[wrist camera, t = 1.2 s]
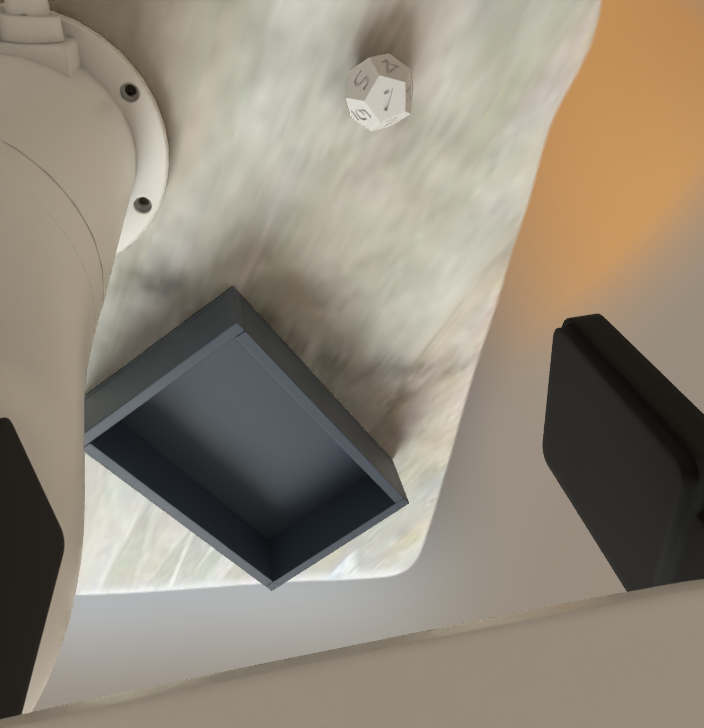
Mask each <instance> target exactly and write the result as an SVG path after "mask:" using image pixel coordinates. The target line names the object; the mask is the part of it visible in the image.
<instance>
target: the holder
mask: <svg viewBox="0 0 704 728" xmlns="http://www.w3.org/2000/svg"><path fill="white" fill-rule="evenodd" d="M84 452H85V453H87V454H88V455H89V456H91V457H92V458H93V459H95V460H96V461H98V462H99V463H100V464H102V465H103V466H104V467H106V468H107V469H108V470H110V471H111V472H112V473H114V474H115V475H116V476H118V477H119V478H120V479H122V480H123V481H124V482H126V483H127V484H128V485H130V486H131V487H132V488H134V489H135V490H137V491H138V492H139V493H141V494H142V495H143V496H145V497H146V498H147V499H149V500H150V501H151V502H153V503H154V504H155V505H157V506H158V507H159V508H161V509H162V510H163V511H165V512H166V513H167V514H169V515H170V516H172V517H173V518H174V519H176V520H177V521H178V522H180V523H181V524H182V525H184V526H185V527H186V528H188V529H189V530H190V531H192V532H193V533H194V534H196V535H197V536H198V537H200V538H201V539H202V540H204V541H205V542H207V543H208V544H209V545H211V546H212V547H213V548H215V549H216V550H217V551H219V552H220V553H221V554H223V555H224V556H225V557H227V558H228V559H229V560H231V561H232V562H233V563H235V564H236V565H237V566H239V567H240V568H241V569H243V570H244V571H246V572H247V573H248V574H250V575H251V576H252V577H254V578H255V579H256V580H258V581H259V582H260V583H262V584H263V585H265V586H266V587H267V588H269V589H270V590H271V591H272V590H274V589H275V588H277V587H279V586H280V585H282V584H283V583H285V582H287V581H288V580H290V579H291V578H293V577H294V576H296V575H298V574H299V573H301V572H302V571H304V570H305V569H307V568H309V567H310V566H312V565H313V564H315V563H316V562H318V561H319V560H321V559H323V558H324V557H326V556H327V555H329V554H330V553H332V552H334V551H335V550H337V549H338V548H340V547H341V546H343V545H345V544H346V543H348V542H349V541H351V540H352V539H354V538H356V537H357V536H359V535H360V534H362V533H363V532H365V531H367V530H368V529H370V528H371V527H373V526H374V525H376V524H377V523H379V522H381V521H382V520H384V519H385V518H387V517H388V516H390V515H392V514H393V513H395V512H396V511H398V510H399V509H401V508H403V507H404V506H406V505H407V504H409V501H408V499H407V496H406V494H405V491H404V489H403V486H402V483H401V481H400V478H399V476H398V473H397V470H396V468H395V465H394V463H393V460H392V459H391V458H390V457H389V456H388V455H387V454H386V453H385V451H384V450H383V449H382V448H381V447H380V446H379V445H378V444H377V443H376V442H375V441H374V439H373V438H372V437H371V436H370V435H369V434H368V433H367V432H366V431H365V430H364V429H363V427H362V426H361V425H360V424H359V423H358V422H357V421H356V420H355V419H354V418H353V417H352V415H351V414H350V413H349V412H348V411H347V410H346V409H345V408H344V407H343V406H342V405H341V403H340V402H339V401H338V400H337V399H336V398H335V397H334V396H333V395H332V394H331V392H330V391H329V390H328V389H327V388H326V387H325V386H324V385H323V384H322V383H321V382H320V380H319V379H318V378H317V377H316V376H315V375H314V374H313V373H312V372H311V371H310V370H309V368H308V367H307V366H306V365H305V364H304V363H303V362H302V361H301V360H300V359H299V358H298V356H297V355H296V354H295V353H294V352H293V351H292V350H291V349H290V348H289V347H288V346H287V344H286V343H285V342H284V341H283V340H282V339H281V338H280V337H279V336H278V335H277V334H276V332H275V331H274V330H273V329H272V328H271V327H270V326H269V325H268V324H267V323H266V321H265V320H264V319H263V318H262V317H261V316H260V315H259V314H258V313H257V312H256V311H255V309H254V308H253V307H252V306H251V305H250V304H249V303H248V302H247V301H246V300H245V299H244V297H243V296H242V295H241V294H240V293H239V292H238V291H237V290H236V289H235V288H234V287H233V286H232V287H231V288H229V289H228V290H227V291H225V292H224V293H223V294H221V295H220V296H218V297H217V298H216V299H214V300H213V301H212V302H210V303H209V304H208V305H206V306H205V307H204V308H202V309H201V310H200V311H198V312H197V313H196V314H194V315H193V316H191V317H190V318H189V319H187V320H186V321H185V322H183V323H182V324H181V325H179V326H178V327H177V328H175V329H174V330H173V331H171V332H170V333H169V334H167V335H166V336H164V337H163V338H162V339H160V340H159V341H158V342H156V343H155V344H154V345H152V346H151V347H150V348H148V349H147V350H146V351H144V352H143V353H141V354H140V355H139V356H137V357H136V358H135V359H133V360H132V361H131V362H129V363H128V364H127V365H125V366H124V367H123V368H121V369H120V370H119V371H117V372H116V373H114V374H113V375H112V376H110V377H109V378H108V379H106V380H105V381H104V382H102V383H101V384H100V385H98V386H97V387H96V388H94V389H93V390H91V391H90V392H89V393H87V394H86V395H85V397H84Z"/></svg>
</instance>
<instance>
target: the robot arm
mask: <svg viewBox="0 0 704 728" xmlns="http://www.w3.org/2000/svg"><path fill="white" fill-rule="evenodd" d="M127 85H133V86H134V87H135V89H136V93H135V94H134V95H130V94H128V93H127V92H126V89H125V88H126V86H127ZM168 172H169V145H168V140H167V135H166V129H165V124H164V121H163V118H162V116H161V113H160V111H159V108H158V105H157V103H156V100H155V98H154V96H153V95H152V93H151V91H150V90H149V88H148V86H147V85H146V83H145V81H144V80H143V78H142V76H141V75H140V74H139V72H138V71H137V70H136V69H135V68H134V67H133V65H132V64H131V63H130V62H129V61H128V60H127V58H126V57H125V56H124V55H123V54H122V53H121V52H120V51H119V50H118V49H116V48H115V47H114V46H113V45H112V44H110V43H109V42H108V41H107V40H106V39H105V38H103V37H102V36H101V35H100V34H98V33H96V32H95V31H93V30H91V29H90V28H88V27H86V26H85V25H83V24H81V23H80V22H78V21H76V20H75V19H72V18H70V17H67V16H65V15H62V14H59V13H57V12H54V11H52V10H50V8H49V2H48V0H4V3H0V728H704V414H703V413H702V412H701V411H700V410H699V409H698V408H697V407H696V406H694V404H692V402H691V401H690V400H688V399H687V398H686V397H685V396H684V395H683V394H682V393H681V392H680V391H679V390H678V389H677V388H676V387H675V386H674V385H673V384H672V383H671V382H670V381H669V380H668V379H667V378H666V377H665V376H664V375H663V374H662V373H661V372H660V371H659V370H658V369H657V368H656V367H655V366H654V365H653V364H652V363H650V362H649V361H648V360H647V359H646V358H645V357H644V356H643V355H642V354H641V353H640V352H639V351H638V350H637V349H636V348H635V347H634V346H633V345H632V344H631V343H630V342H629V341H628V340H627V339H626V338H625V337H624V336H623V335H622V334H621V333H620V332H619V331H618V330H617V329H616V328H615V327H614V326H612V325H611V324H610V323H609V322H608V321H607V320H606V319H605V318H604V317H603V316H602V315H600V314H592V315H586V316H579V317H573V318H567V319H566V320H565V321H564V323H563V325H562V327H561V328H557V329H556V330H555V332H554V335H553V344H552V354H551V364H550V374H549V384H548V395H547V405H546V414H545V424H544V435H543V454H544V458H545V460H546V463H547V465H548V466H549V468H550V470H551V471H552V473H553V474H554V476H555V478H556V479H557V481H558V482H559V484H560V486H561V487H562V489H563V490H564V492H565V493H566V495H567V497H568V498H569V500H570V501H571V503H572V504H573V506H574V508H575V509H576V511H577V513H578V514H579V516H580V517H581V519H582V521H583V522H584V524H585V525H586V527H587V529H588V530H589V532H590V533H591V535H592V536H593V538H594V540H595V541H596V543H597V545H598V546H599V548H600V549H601V551H602V553H603V554H604V556H605V557H606V559H607V561H608V562H609V564H610V565H611V567H612V569H613V570H614V572H615V573H616V575H617V577H618V578H619V580H620V581H621V583H622V585H623V586H624V588H625V589H626V591H627V592H623V593H618V594H613V595H607V596H601V597H595V598H590V599H585V600H580V601H575V602H569V603H565V604H560V605H554V606H550V607H544V608H539V609H534V610H529V611H524V612H518V613H513V614H509V615H503V616H498V617H494V618H488V619H483V620H478V621H473V622H468V623H462V624H457V625H453V626H447V627H442V628H437V629H433V630H427V631H422V632H417V633H412V634H407V635H402V636H397V637H392V638H387V639H383V640H378V641H372V642H367V643H363V644H358V645H353V646H348V647H343V648H338V649H333V650H328V651H323V652H318V653H313V654H308V655H304V656H299V657H294V658H288V659H284V660H279V661H274V662H269V663H264V664H259V665H254V666H250V667H244V668H239V669H234V670H230V671H225V672H220V673H215V674H211V675H205V676H201V677H196V678H191V679H186V680H181V681H177V682H172V683H167V684H162V685H157V686H153V687H148V688H143V689H138V690H134V691H128V692H124V693H119V694H114V695H109V696H104V697H100V698H95V699H90V700H85V701H80V702H76V703H71V704H66V705H62V706H57V707H53V708H48V709H44V710H39V711H35V712H32V710H33V708H34V707H35V705H36V703H37V701H38V699H39V697H40V695H41V693H42V691H43V689H44V687H45V685H46V684H47V681H48V679H49V676H50V674H51V671H52V669H53V666H54V664H55V661H56V659H57V656H58V654H59V651H60V649H61V646H62V643H63V640H64V637H65V633H66V630H67V626H68V623H69V620H70V616H71V612H72V608H73V603H74V597H75V593H76V588H77V582H78V576H79V570H80V564H81V557H82V546H83V535H84V512H85V454H84V397H85V386H86V376H87V368H88V362H89V357H90V352H91V348H92V344H93V339H94V335H95V331H96V327H97V324H98V320H99V316H100V312H101V309H102V306H103V303H104V299H105V295H106V291H107V287H108V283H109V279H110V275H111V271H112V267H113V263H114V259H115V255H117V254H118V253H120V252H121V251H123V250H124V249H125V248H127V247H128V246H129V245H131V244H132V243H133V242H135V241H136V240H137V239H138V237H139V236H140V235H141V234H142V233H143V232H144V231H145V230H146V229H147V227H148V226H149V225H150V223H151V222H152V220H153V218H154V217H155V215H156V214H157V212H158V210H159V208H160V205H161V202H162V199H163V195H164V192H165V189H166V186H167V179H168ZM140 197H145V198H147V199H148V201H149V202H148V203H147V204H142V203H141V202H140V201H139V198H140Z"/></svg>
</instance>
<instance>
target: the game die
mask: <svg viewBox="0 0 704 728" xmlns="http://www.w3.org/2000/svg"><path fill="white" fill-rule="evenodd" d="M412 95H413V83H412V77H411V70H410V68H409V67H408V66H406V65H405V64H403V63H402V62H400V61H399V60H397V59H396V58H395V57H393V56H392V55H390V54H389V53H387V54H382V55H377V56H372V57H369V58H367V59H366V60H364V61H363V62H361V63H360V64H359V65H357V66H356V67H354V68H353V69H351V70H350V71H349V72H348V80H347V89H346V101H347V105H348V109H349V112H350V116H351V117H352V118H353V119H354V120H356V121H357V122H359V123H360V124H362V125H363V126H364V127H366V128H367V129H369V130H370V131H371V132H372V131H376V130H379V129H383V128H386V127H390V126H391V125H393V124H395V123H396V122H398V121H400V120H401V119H403V118H405V117H406V116H408V115H410V113H411V104H412Z"/></svg>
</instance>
